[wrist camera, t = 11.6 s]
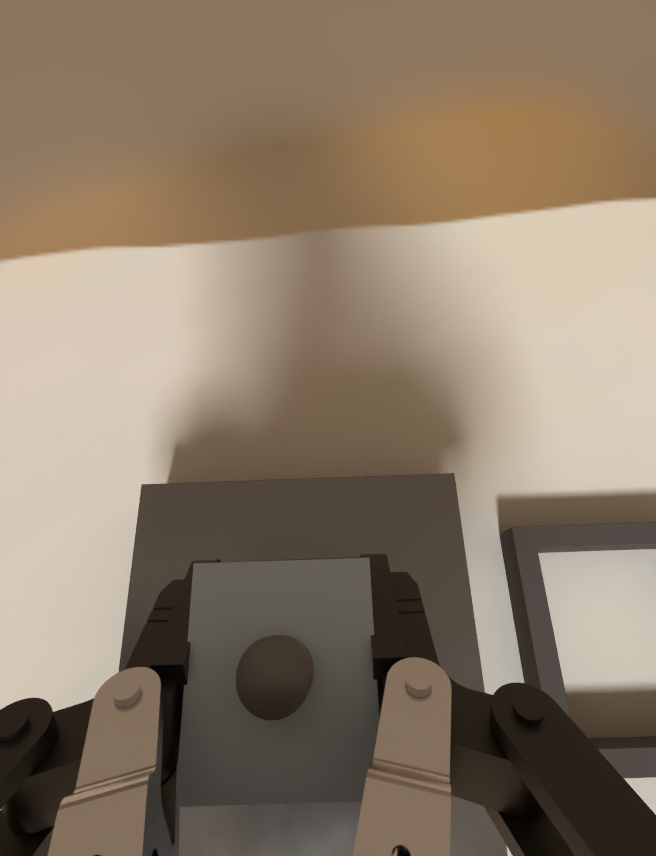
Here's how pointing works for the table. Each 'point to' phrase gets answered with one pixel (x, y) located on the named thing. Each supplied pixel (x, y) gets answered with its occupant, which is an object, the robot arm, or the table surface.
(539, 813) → the robot arm
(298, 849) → the block
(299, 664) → the plug
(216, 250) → the table surface
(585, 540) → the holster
